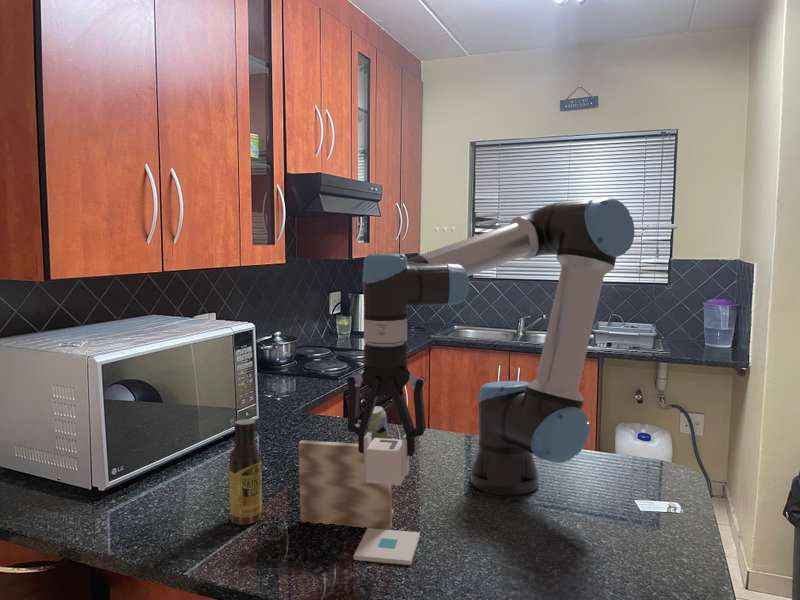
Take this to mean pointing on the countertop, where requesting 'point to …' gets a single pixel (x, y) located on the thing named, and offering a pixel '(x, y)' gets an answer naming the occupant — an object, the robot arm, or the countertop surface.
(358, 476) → the screen
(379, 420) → the beverage can
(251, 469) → the sauce bottle
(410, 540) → the tile
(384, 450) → the letter cube
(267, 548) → the countertop surface
